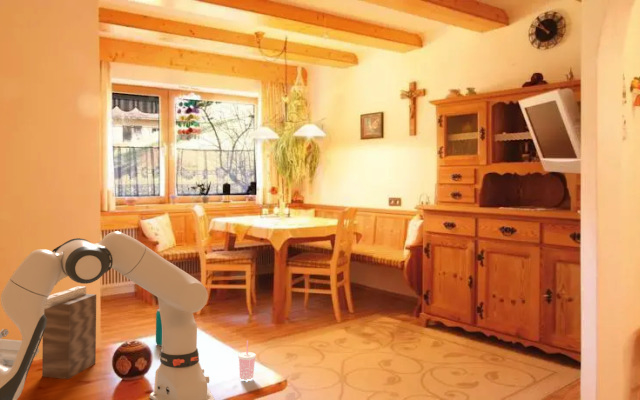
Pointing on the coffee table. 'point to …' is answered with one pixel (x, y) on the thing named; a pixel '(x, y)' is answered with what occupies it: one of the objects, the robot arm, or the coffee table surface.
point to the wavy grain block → (69, 337)
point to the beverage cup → (246, 364)
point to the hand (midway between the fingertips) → (19, 331)
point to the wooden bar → (65, 296)
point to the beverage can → (158, 328)
